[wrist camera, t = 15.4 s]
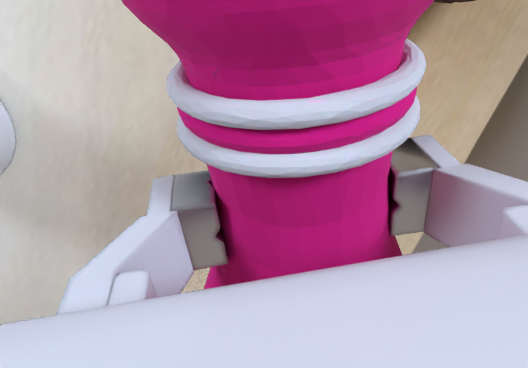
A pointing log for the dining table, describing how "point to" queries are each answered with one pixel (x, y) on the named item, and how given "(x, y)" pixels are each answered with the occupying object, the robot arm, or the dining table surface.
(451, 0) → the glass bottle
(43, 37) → the dining table surface
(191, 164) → the dining table surface
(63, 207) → the dining table surface
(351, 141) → the pepper mill
